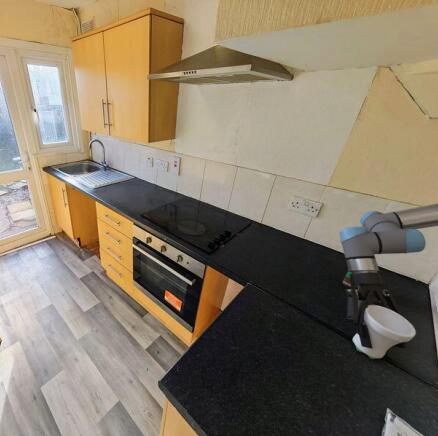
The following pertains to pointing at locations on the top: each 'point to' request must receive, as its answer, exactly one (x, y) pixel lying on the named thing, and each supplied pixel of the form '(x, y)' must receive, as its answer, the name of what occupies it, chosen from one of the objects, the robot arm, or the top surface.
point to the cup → (384, 330)
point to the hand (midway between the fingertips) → (383, 347)
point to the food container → (348, 281)
